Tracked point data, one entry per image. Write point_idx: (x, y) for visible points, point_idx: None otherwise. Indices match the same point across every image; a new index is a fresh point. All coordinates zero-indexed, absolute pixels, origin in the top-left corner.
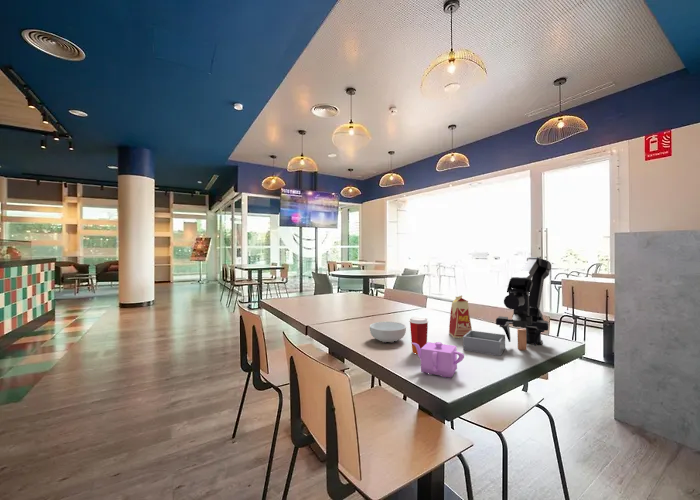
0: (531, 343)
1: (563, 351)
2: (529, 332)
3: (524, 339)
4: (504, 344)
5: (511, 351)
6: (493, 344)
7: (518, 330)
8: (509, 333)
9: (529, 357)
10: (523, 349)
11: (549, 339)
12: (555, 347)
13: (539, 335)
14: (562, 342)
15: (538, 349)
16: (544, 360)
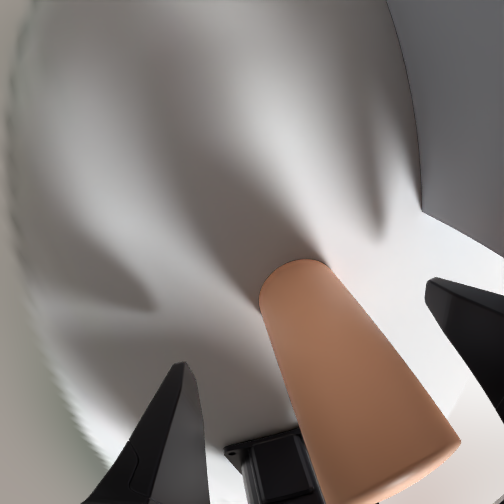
0: (280, 434)
1: (82, 424)
2: (311, 495)
3: (305, 365)
4: (453, 177)
5: (357, 134)
6: None
7: (451, 436)
8: (484, 350)
9: (131, 64)
10: (279, 273)
11: (237, 495)
12: None
13: (249, 499)
14: None
15: None
16: (9, 111)
